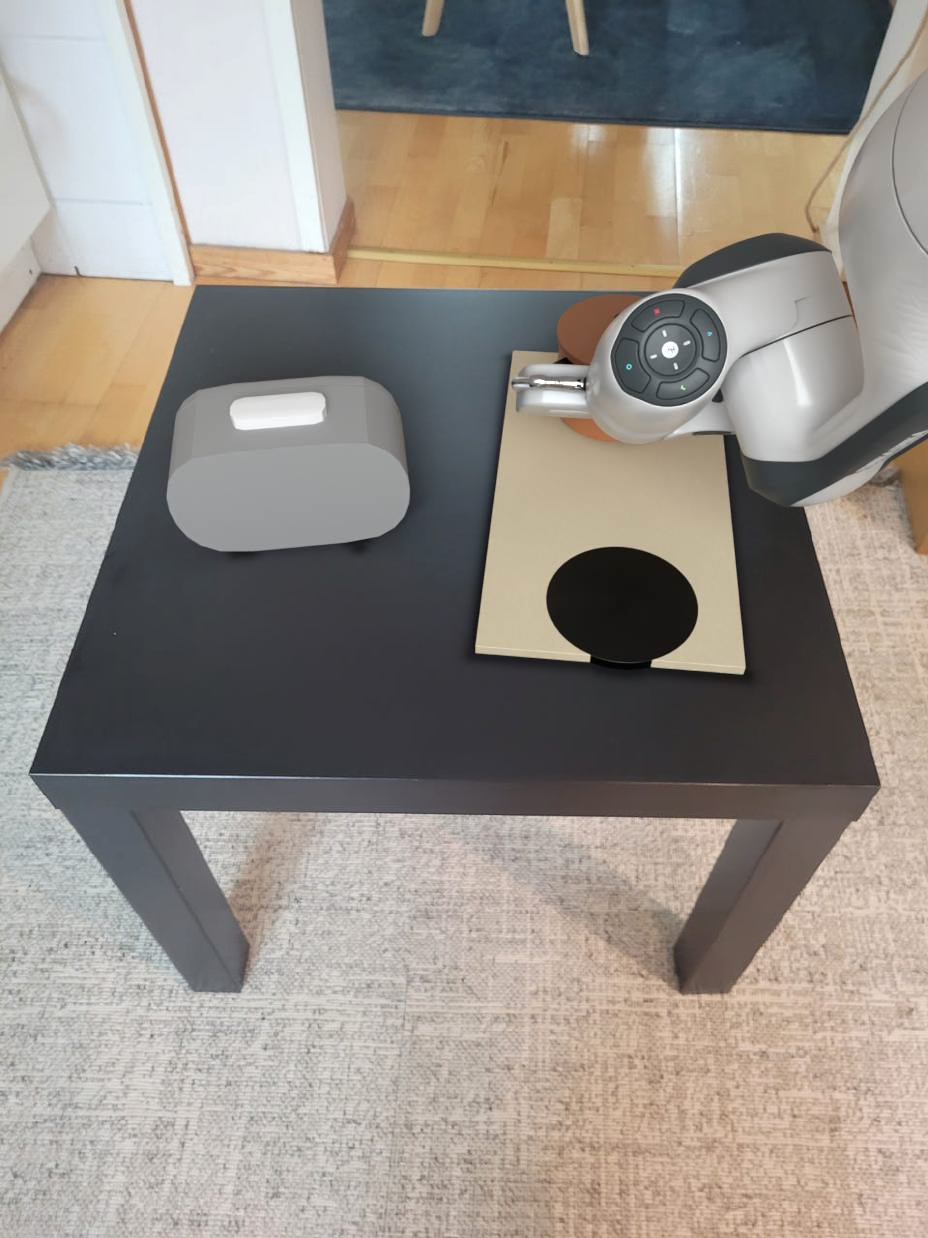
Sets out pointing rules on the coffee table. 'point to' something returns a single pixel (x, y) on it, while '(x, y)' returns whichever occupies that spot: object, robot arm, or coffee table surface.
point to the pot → (588, 343)
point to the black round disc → (622, 606)
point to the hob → (605, 530)
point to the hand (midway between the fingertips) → (624, 407)
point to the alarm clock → (288, 464)
